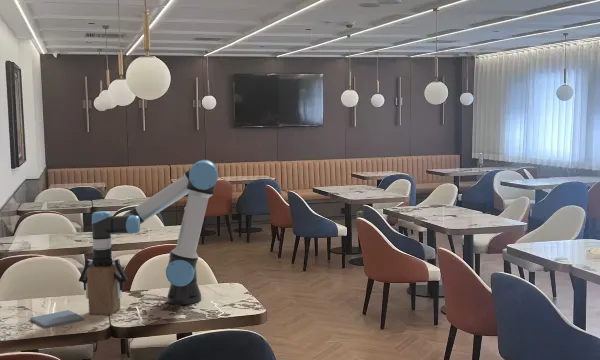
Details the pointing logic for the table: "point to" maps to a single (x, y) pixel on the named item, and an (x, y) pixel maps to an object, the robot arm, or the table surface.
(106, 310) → the wooden block
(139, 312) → the table surface
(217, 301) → the table surface
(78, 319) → the slate plate
